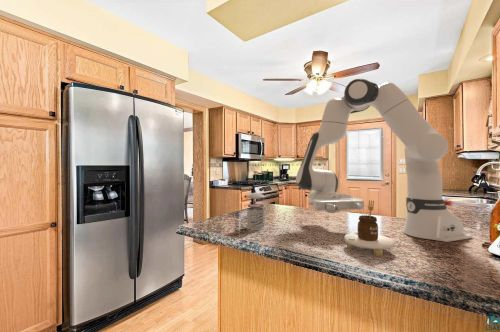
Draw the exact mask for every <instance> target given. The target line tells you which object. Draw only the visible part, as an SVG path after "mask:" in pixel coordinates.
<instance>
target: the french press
mask: <svg viewBox="0 0 500 332" xmlns="http://www.w3.org/2000/svg"><path fill="white" fill-rule="evenodd" d="M258 173H259V171H257V170H254V171H253V174H255V181H257V174H258ZM265 197H266V196H265V195H264V194H263V193H259V192H257V191H254V192H252V193H249V194H247V195H246V198H247V199H255V200H257V199H262V201H261V202H262V203H264V202H266V204H267V205H266V206H268V207H267V209H266V210H265V208H264V204H262V203H261V204H260V203H259V204H258V203H253V204H248V205H247V207H248V208H246V224H247V225H245V226H246V228H247V229H246V230H248V229H251V230H250V231H264V230H266V229H267V228H268V227H267V226H266V225H265V224H266V223H265V222H266V220H265V219H266V218H265V217H266V216H267V215H268V214H269V212H270V210H271V204H270V202H269V200H268V199H266V198H265ZM263 229H264V230H263Z"/></svg>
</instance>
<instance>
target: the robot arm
mask: <svg viewBox="0 0 500 332" xmlns="http://www.w3.org/2000/svg"><path fill="white" fill-rule="evenodd" d="M343 93H344V94H343V95H344V96H342V97H340V98H339V97H337V98H336V97H335V98H332V99H329V100H328V101H327V103H326V105H325V107H324V110H323V114H322V118H321V122H320V125H319V128H318V130H317V131H316V132H314V133H313V134H312V135H311V137H310V138H309V141H308V145H307V147H306V150H305V152H304V156H303V159H302V161H301V165H300V167H299V169H298V170H297V173H296V177H295V183H296V185H297V186H298V187H299V189H301V190H302V191H303V190H305V191H306V190H307V191H309V194H308V201H309V202H308V205H310V206H311V207H312V209H314V210H315V211H320V212H321V211H323V212H326V213H328V214H335V213H338V212H341V211H349V210H350V211H351V210H352V211H353V210H357V211H358V210H361V211H362V210H363V208H364V209H365V201H364V199H362V198H359V197H356V196H352V195H351V194H345V193H338V192H337V191H338V188H339V179H338V176H337V175H336V173H335V171H333V170H327V169H320V168H319V169H318V168H313V165H314V162H315V159H316V156H317V153H318V151H319V150H320V149H321V148H323V147H325V146H329V145H330V146H331V145H334V144H336V143H339V142H340V141H342V140H343V139H344V137H345V136H346V132H347V128H348V122H349V117H350V114H356V113H359V112H364V111H366V110H367V109H368V108H370V107H374V109H376V111H378V113H379V114H380V116H381V117H382V119H383V120H384V121H385V123H386V124H387V126H388V127H389V129H390V131H392V133H393V134H394V135H395V136H396V137H397V138H398V140H400V141H401V142H402V143H403V146H405V147H404V159H405V162H404V163H405V169H406V170H405V171H406V176H407V177H406V179H407V197H405V198H406V199H405V206H406V215H405V222H404V226H403V229H402V233H403V234H405V235H408V236H411V237H415V238H419V239H424V240H425V239H426V240H434V241H440V242H446V243H447V242H448V243H449V242H455V241H461V240H469V239H473V235H472V234H470V233H468V232H465V231H464V224H463V220H461V219H460V218H459V217H458V216H457V215H455V214H454V213H452V212H451V211H450V210H448V209H447V206H449V207H452V206H453V203H454V202H453V201H452V200H448V199H445V200H444V199H443V177H442V174H441V170H440V165H439V161H440V160H441V159H442V158H444V156H445V155H446V154H447V152H448V150H449V142H448V140H447V139H446V137H444V136H443V135H442V134H440V133H439V131H437V129H435V128H434V126H433V125H432V124H431V123H429V122H428V121H427V120H426V118H424V117H423V116H422V115H421V113H420V112H419V111H418V110H417V108H416V107H415V105H414V104H413V102H411V100H410V99H409V97H408V96H407V95H406V94H405V93H404V91H403V90H402V89H401V88H399V87H398V86H397V85H396V84H395V83H393V82H384V83H382V84H380V85H378V84H377V83H374V82H372V81H369V80H368V79H364V78H355V79H352V80H351V81H350V82H349V83H348V84H347V85H346V87H345V89H344V92H343ZM363 205H364V206H363Z"/></svg>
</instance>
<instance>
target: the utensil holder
mask: <svg viewBox="0 0 500 332" xmlns="http://www.w3.org/2000/svg"><path fill="white" fill-rule="evenodd" d="M374 204H375V200H368V205H366V204H364V205H363V206H364V208H363V209H362V210H363V213H365V211H364V209H365V210H366V213H365V214H363V213H362V211H360V212H361V215H359V217H358V220H359V221H358V222H357V233H358V238H359V239H362V240H366V241H376V240H377V239H378V235H379V225H378V223H377V221H378V220H377V217H376V216H374V215H372V211H373V210H374ZM365 207H367V208H365ZM367 209H368V210H367ZM367 211H369V213H368V212H367Z"/></svg>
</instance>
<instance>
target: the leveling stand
mask: <svg viewBox="0 0 500 332" xmlns="http://www.w3.org/2000/svg"><path fill="white" fill-rule="evenodd" d="M344 241H345V243H347V245H346V246H347V248H348V249H350V250H354V249H356V247H357V248H362V249H368V250H373V256H375V257H378V258H380V257H383V256H384V250H388V249H391V248H393V247H394V240H393V239H392V238H389V237H387V236H384V235H381V234H378V239H377V240H376V241H366V240H362V239H359V238H358V232H352V233H351V232H350V233H347V234H345V235H344Z"/></svg>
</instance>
